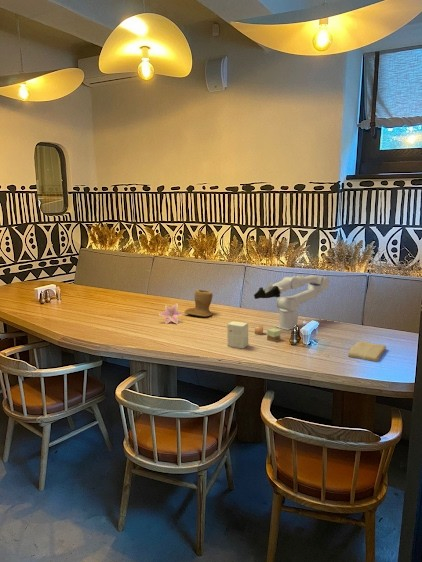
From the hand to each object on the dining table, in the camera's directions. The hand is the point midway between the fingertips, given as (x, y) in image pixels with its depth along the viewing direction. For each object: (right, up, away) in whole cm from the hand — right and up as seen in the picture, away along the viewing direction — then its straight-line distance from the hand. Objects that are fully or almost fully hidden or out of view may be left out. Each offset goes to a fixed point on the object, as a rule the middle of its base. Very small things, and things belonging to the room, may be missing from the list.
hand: (260, 296), depth 197 cm
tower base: (+6, -21, -2) cm, 22 cm away
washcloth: (+43, -24, -21) cm, 54 cm away
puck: (0, -19, +7) cm, 20 cm away
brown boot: (-30, -13, +43) cm, 54 cm away
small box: (-11, -22, -10) cm, 27 cm away
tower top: (+6, -18, -3) cm, 19 cm away
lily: (-45, -15, +29) cm, 56 cm away
